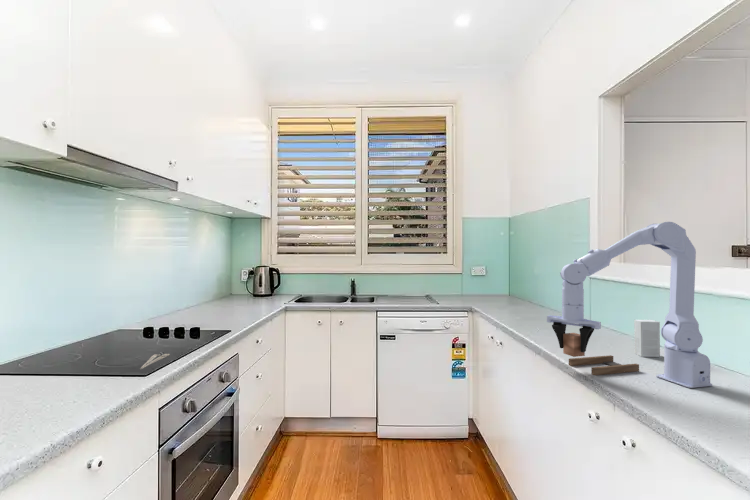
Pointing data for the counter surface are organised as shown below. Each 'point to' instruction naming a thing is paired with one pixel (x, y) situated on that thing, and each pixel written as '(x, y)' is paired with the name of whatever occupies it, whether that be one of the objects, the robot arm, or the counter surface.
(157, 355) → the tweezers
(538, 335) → the counter surface
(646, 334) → the skincare box
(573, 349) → the terracotta block
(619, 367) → the walnut channel
